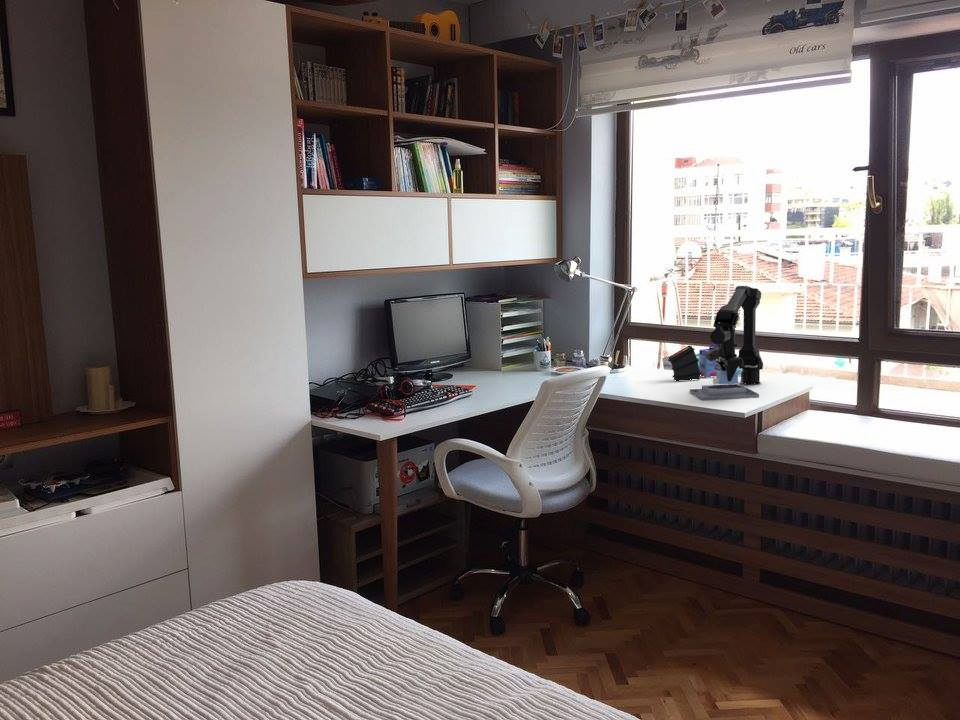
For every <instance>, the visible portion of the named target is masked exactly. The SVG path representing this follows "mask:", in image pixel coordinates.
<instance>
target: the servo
mask: <svg viewBox="0 0 960 720" xmlns="http://www.w3.org/2000/svg"><path fill="white" fill-rule="evenodd" d="M724 384H739V372H738V371H737V370H736V372H735V374H734V376H733V378H732V380H731V381H728V379H727V372H726V371H717V377H712V385H724Z"/></svg>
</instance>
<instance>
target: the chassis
mask: <svg viewBox="0 0 960 720" xmlns="http://www.w3.org/2000/svg"><path fill="white" fill-rule="evenodd" d="M690 392H691V393H690ZM689 393H690V394H691V395H693V394H694V395H693V396H695V395H696V396H697V397H696V396H695V397H696V398H698V399H700V400H701V401H710V400H711V401H712V400H713V401H714V400H715V401H716V400H731V399H732V400H733V399H747V398H748V399H749V397H753V398H760V393H759V392H758V393H757V392H755V391H753V390H751V389H749V388H747V387H745V386H744V385H741V384H740V383H737V384H710V385H701V388H695V389H694V388H692V389H689Z"/></svg>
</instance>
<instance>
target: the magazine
mask: <svg viewBox="0 0 960 720" xmlns="http://www.w3.org/2000/svg"><path fill="white" fill-rule="evenodd" d="M667 358H668V362H669V363H670V364H671V370H673V375H672V378H673V381H674V380H676V381H679V380H690V379H691V380H692V379H701V377H700V374H701V372H700V371H699V359H698V357H697V355H696V352H695V348H694V347H693V346H692V345H687V346H686V347H684V348H682V349H681V350H678V351H676V352H675V353H673V354H671V355H670V356H668V357H667ZM676 381H675V382H676ZM679 382H680V381H679Z"/></svg>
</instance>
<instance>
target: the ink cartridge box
mask: <svg viewBox="0 0 960 720" xmlns="http://www.w3.org/2000/svg"><path fill="white" fill-rule="evenodd" d="M714 348H717V344H714V343H713V344H710V345H709V348H701V349H699V350H698V351H699V355H698V357H699V359H698V360H699V361H698V365H699V371H700V372H701V374H700V375H701V376H704V377H711V376H717V371H722V370H721V367H720V365H719V364H718V363H716V361H718V359H716V360H713V361H709V360H707V358H706V355H705V352H706V351H709V350H711V349H714Z"/></svg>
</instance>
